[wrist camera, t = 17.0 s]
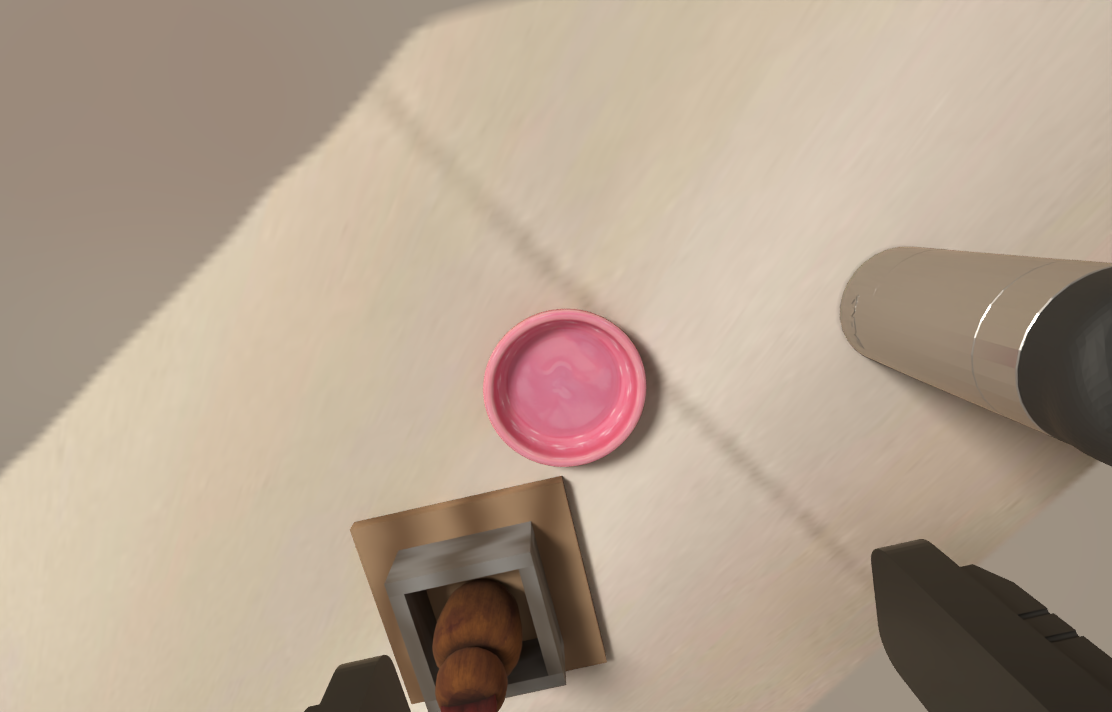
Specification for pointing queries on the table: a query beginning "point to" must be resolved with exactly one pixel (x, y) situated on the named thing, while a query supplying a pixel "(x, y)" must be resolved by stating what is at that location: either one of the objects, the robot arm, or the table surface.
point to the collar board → (484, 553)
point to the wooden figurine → (476, 647)
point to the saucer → (564, 387)
